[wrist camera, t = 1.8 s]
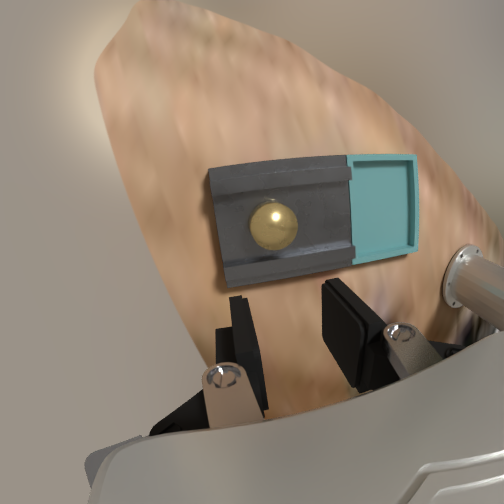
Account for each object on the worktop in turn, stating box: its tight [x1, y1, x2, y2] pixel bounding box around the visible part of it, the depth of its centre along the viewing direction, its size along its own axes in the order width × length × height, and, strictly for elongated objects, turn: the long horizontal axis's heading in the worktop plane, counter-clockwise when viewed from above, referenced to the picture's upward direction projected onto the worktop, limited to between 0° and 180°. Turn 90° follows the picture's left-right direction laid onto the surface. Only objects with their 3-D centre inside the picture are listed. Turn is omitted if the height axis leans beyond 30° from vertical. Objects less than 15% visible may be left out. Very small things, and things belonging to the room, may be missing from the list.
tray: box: [345, 154, 419, 265], centre depth 33 cm, size 12×14×2 cm
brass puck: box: [248, 201, 298, 250], centre depth 30 cm, size 5×5×2 cm
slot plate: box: [208, 155, 356, 288], centre depth 32 cm, size 16×14×3 cm
